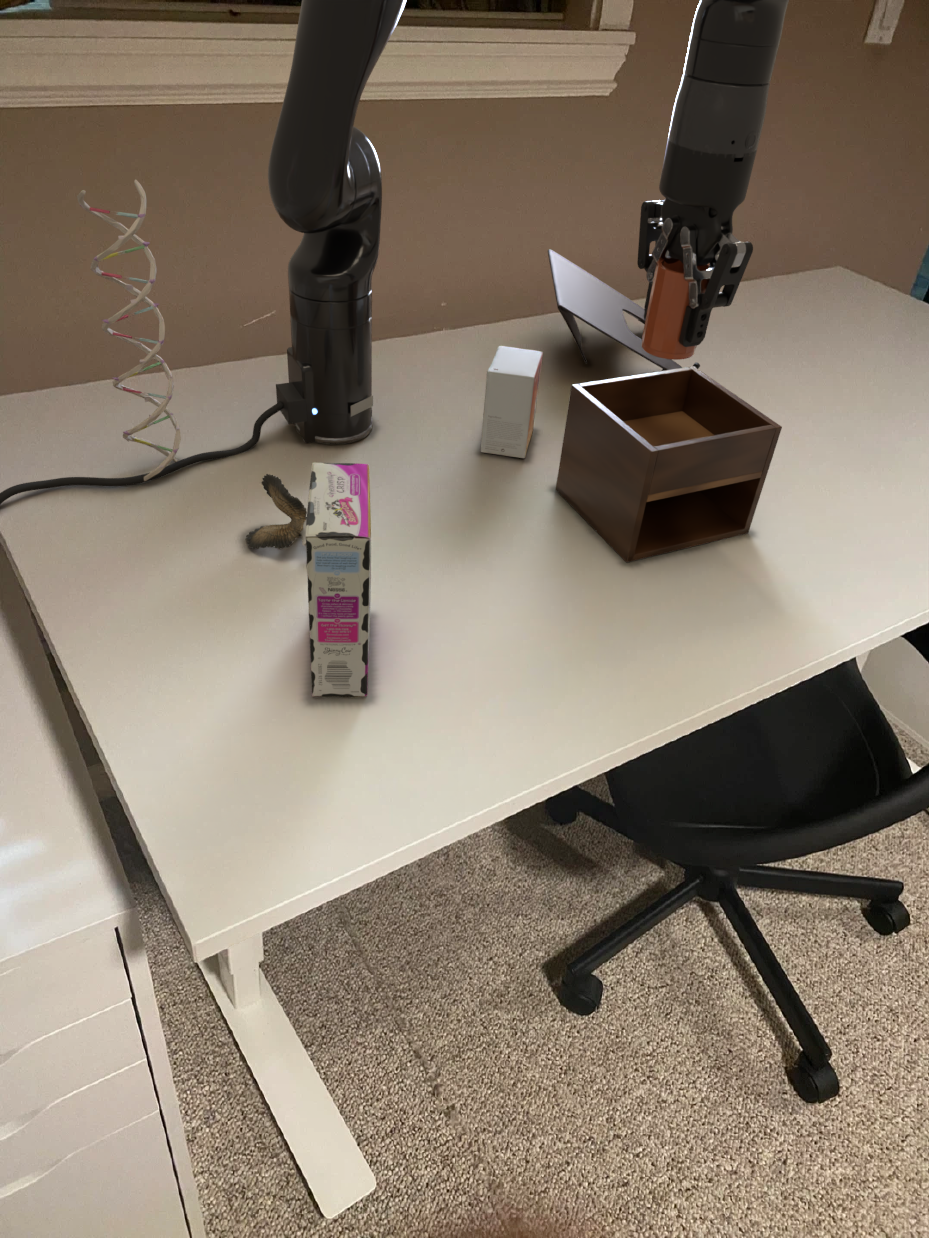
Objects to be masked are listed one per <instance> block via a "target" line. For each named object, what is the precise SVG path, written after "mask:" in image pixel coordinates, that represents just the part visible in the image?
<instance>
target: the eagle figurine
mask: <svg viewBox="0 0 929 1238" xmlns="http://www.w3.org/2000/svg"><path fill="white" fill-rule="evenodd" d="M261 479H262V480H261V485H262V487H263V488H262V489H263V490H264V491H265V492H266V495H267V496H268V497H269V498H271V500H272V502H273V504H274V506H276V508H277V509H278V510H279V511H280V512H281V513H283V514H284V515H286V516H287V517H289V518H290V521H289V522H288V523H284V524H283V523H282V524H281V523H280V524H267V525H262V526H260V527H258V528H255V529H254V530H251V531H250V532H248V534H246V536H245V537H246V538H245V541H246V545H247V546H248V548H251V549H253V550H254V549H256V550H259V549H260V548H261V549H262V548H263V549H265V548H275V549H278V550H281V549H284V548H289V547H290V546H292V545H293V543H294V542H295V541H296V540H297V539H299V538H301V542H302V546H303V547H304V546H305V547H306V537H305V534H306V520H307V507H305V504H304V503H303V502H302V501H301V500H300V499H299V497H297V496H293V495H291V493H290V492H289V490H288V489H287V487H285V484H283V481H282V479H281V478H279V476H276V475H273V474H270V473H269V474H268V473H266V474H265V475H264V476H263V477H262V478H261Z"/></svg>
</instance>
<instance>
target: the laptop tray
mask: <svg viewBox="0 0 929 1238" xmlns="http://www.w3.org/2000/svg"><path fill="white" fill-rule="evenodd" d="M547 256H548V261H549V269H550V272H551V279H552V284H553V290H554V295H555V296H554V297H555V301H556V307H557V310H558V311H559V313H560V314H561V316H562V319H563V320H564V322H565V323H566V325H567V327H568V329H569V332H570V333H571V336H572V337H573V340H574V342H575V344H576V346H577V348H578V350H579V352H580V355H581V357H582V360H583V361H584V362H585V364H588V361H587V358H586V355H585V352H584V349H583V344H582V340H583V339H582V338H583V337H582V333H581V331H580V328H579V326H578V323H577V321H576V319H575V317H576V318H577V319H578V320H580V321H582V322H583V323H585V324H587V325H588V326H590V327H591V328H593V329H595V330H596V331H598V332H600V333H601V334H603V335H604V336H607V338H608V337H609V338H610V339H611V340H613V341H615V342H616V343H618V344H620V345H621V346H623V347H624V348H626V349H628V350H629V351H631V352H633V353H635V354H636V355H638V356H640V357H642V358H643V359H645V360H646V361H648V362H650V363H652V364H654V365H656V366H657V367H659V368H661V371H666V370H672V369H679V368H683V367H682V366H681V365H680V364H679V363H677V362H676V361H675V360H673V359H665V358H660V357H656V356H654V355H651V354H649V353H647V352H646V351H645V350H644V349H643V348H642V346H641V344H642V338H640V337H639V336H637V335H636V334H635V333H634V332H632V330H631V329H630V328H629V326H628V323H627V320H626V318H625V314H624V312H625V313H626V314H628V315H629V316H631V317H633V318H634V319H636V320H637V321H638V322H640V323H641V324H643V326H644V325H645V319H644V312H645V309H644V307H642V306H641V305H639V304H637V303H636V302H635V301H633V300H631V298H628V297H627V296H625V295H624V294H622V293H621V292H619V291H618V290H616V289H614V288H613V287H611V286H610V285H608V284H607V283H605V282H604V281H602V280H601V279H599V278H597V277H596V276H595V275H592V274H591V273H590V272H588V271H587V270H585V269H583V268H582V267H580V266H578V265H577V264H575V263H573V262H572V261H571V260H569V259H567V258H566V257H564V256H563V255H561V254H559V253H558V252H556V251H554V250H553V249H551V248H549V249H547ZM692 366H694V367H696V368H697V369H700V367H701V364H700V363H699V362H697V361H695V362H694V363H693V365H692Z"/></svg>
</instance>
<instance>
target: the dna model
mask: <svg viewBox="0 0 929 1238" xmlns="http://www.w3.org/2000/svg"><path fill="white" fill-rule="evenodd" d="M133 184H134V186H135V188H136V190H137V192H138V193H137V194H138V195H139V197H140V203H141V204H140V208H139V213H138V214H136V213H129V212H124V211H123V212H121V211H117V212H115V215H116V216H121V217H125V218H132V219H135V220H134V222H133V223H132V224H131V226H130V227H129V228H127V226H125V225H124V224H123V223H122V222H120V221H117V220H115V219H113V217H110V216H108V215H106V214H111V212H112V213H113V212H114V211H113V210H111V211H110V210H108V209H102V208H97V207H96V208H95V207H91V206H90V205H89V204H88V203H87V202H86V201H85V196H86V192H87V191H86V190H85V189H83V190H81V191H80V192H79V193H78V194H77V195H76V199H77V203H78V204H79V206H80V207H81V208H82V210H84V211H85V212H87V213H90V214H91V215H93V216H95V217H97V218H99V219H100V220H102V221H104V222H105V223H107V224H108V225H110V226H112V227H114V228H116V229H117V230H118V231H120V232H121V233H123V234H124V235H118V236H117V237H118V238H117V240H116V241H115V242H114V243H113V244H111V245H110V246H109V247H107V248H106V249H105V250H104V251H102V252H101V253H99V254H98V255H96V256H94V257H93V259H92V262H91V263H90V267H89V269H90V270H91V271H92V272H93V273H94V274H95V275H96V276H99V277H101V278H103V279H105V280H108V281H110V282H112V283H114V284H117V285H119V286H120V287H121V288H123V289H124V290H125V291H127V292H128V293H130V294H132V295H133V296H134V297H136V298H133V299H130V303H129V304H127V305H126V306H125V307H123V308H122V309H120V310H119V311H118V312H116V313H115V314H114V315H112V316H110V317H109V318H105V319H101V322H103V323H102V324H101V331H103V332H104V333H105V334H107V335H108V336H110V337H112V338H115V339H119V340H121V341H124V342H125V343H128V344H129V345H132V346H133V347H135V348H138V349H139V350H141V351H142V352H144V353H145V354H146V355H145V357H144V358H142V359H139V363H138V364H137V365H136V366H134V367H132V368H131V369H130V370H128V371H125V372H124V373H123V374H121V375H119V376H117V377H111V379H112V386H113V388H115V389H117V390H119V391H123V392H127V393H129V394H131V395H134V396H137V397H140V398H142V399H144V402H145V403H147V402H150V403H151V404H152V405H154V406H156V409H155V410H154V411H153V412H152V413H151V414H148V417H147V418H146V419H144V420H143V421H141V422H140V423H138V424H137V425H135V426H134V427H133V428H130V429H127V430H124V431H122V438H123V439H124V440H125V441H126V442H134V443H137V444H142V445H145V446H148V447H150V448H152V449H154V450H156V451H158V453H160V454H162V455H164V456H166V457H165V459H164V460H163V461H162V462H161V463H160V464H158V466H157V467H155V468H154V469H153V470H151V471H150V472H148V473H149V474H147V475H146V476H144V481H146V480H148V479H150V478H151V477H153V476H155V475H156V474H158V473H160V472H161V471H162V470H163V469H164V468H165V467H166V466H168V465H170V464H171V462H172V461H173V463H175V462H177V461H179V459H178V458H176V457H175V456H177V455H176V454H177V453H178V451H179V448H180V444H181V440H182V436H181V428H180V427H181V426H180V425H179V422H178V420H177V418H176V415H174V413H173V412H172V411H171V410H170V409H169V408H168V407H167V406H168V405H169V403H170V401H171V399H172V397H173V394H174V388H175V384H174V378H173V374H172V371H171V370H170V368H169V365H168V364H167V362H166V361H165V360H164V359H163V358H162V357H161V356H160V355H158V352H159V351H160V350H161V348H162V347H163V344H164V343H165V336H166V335H165V334H166V324H165V319H164V318H163V317H164V316H163V315H162V313H161V312H160V309H159V308H158V306H159V305H160V303H158V302H153V300H151V299H150V298H149V297H148V295H149V294H150V293H151V292H152V291H151V290H152V289H153V287H154V284H155V283H156V279H157V274H158V268H157V263H156V259H155V257H154V256H153V253H152V251H151V249H150V248H149V245H150V244H151V242H149V241H144V240H143V239H142V238H140V236H139V235H137V232H138V231H139V230H140V228H141V226H142V224H143V222H144V220H145V217H146V214H147V195H146V191H145V189H144V188H143V186H142V184H141V183H140V182H139V180H137V179H134V181H133ZM130 240H132V241H133V242H134V243H135V244H137V245H138V246H135V247H132V248H129V249H125V250H121V251H117V250H118V249H119V248H121V247H123V245H125V244H126V243H128V241H130ZM139 250H143V252H144V254H145V257H146V258H147V259H148V262H149V264H150V268H149V279H147V280H146V279H141V278H137V277H132V276H127V277H125V276H123V275H122V274H117V273H116V274H115V273H112V272H105V271H103V270H102V269H100V267H99V263H100V262H101V261H104V260H108V259H111V258H114V257H117V256H120V255H121V256H122V255H124V254H128V253H132V252H136V251H139ZM116 251H117V252H116ZM124 277H125V278H124ZM120 279H124V280H129V281H131V282H137V283H142V284H145V286H144V287H143V288H142V290H140V289H138V288H136V287H134V284H131V283H125V282H124V281H122V280H120ZM141 302H143V303H145V304H146V305H147V306H148V307H145V308H142V309H140V310H137V311H134V312H133V315H131V317H133V316H136V315H139V314H143V313H146V312H149V311H152V312H153V313H154V315H155V316H156V318H157V320H158V324H159V326H158V328H159V331H158V340H156V339H150V338H144V337H139V338H138V337H137V336H135V338H133V336H132V335H129V334H123V333H120V332H118V331H115V330H113V329H111V328H110V326H111V325H113V324H114V323H116V322H119V321H122V320H125V319H128V318H129V317H130V315H129V313H130V312H131V311H133V310H134V309H135V308H137V307H138V306H139V305H140V304H141ZM140 341H141V342H140ZM142 342H145V343H149V344H154V345H155V346H154V347H152V349H151V348H149V347H148V346H146V345H145V344H144V343H142ZM153 360H154V361H156V362H155V363H153V364H151V365H148V364H150V363H152V361H153ZM147 365H148V366H147ZM158 366H160V367H161V369H162V372H163V373H164V375H165V376H166V378H167V380H168V385H167V390H166V394H165V395H163V394H157V393H152V392H145V391H141V390H137V389H134V388H131V387H129V386H126V385H123V384H121V383H122V382H124V381H125V380H126V379H128V378H131V377H134V376H137V375H138V374H141V373H143V372H146V371H148V370H150V369H153V368H156V367H158ZM157 398H159V399H164V400H163V401H162V402H160V400H158V399H157ZM163 413H164V414H166V416H163V417H161V418H159V417H160V416H161V414H163ZM158 418H159V419H158ZM169 419H170V421H171V424H172V426H173V428H174V430H175V436H174V441H173V445H172V448H169V447H165V446H161V445H160V444H157V443H154V442H153V441H151V440H148V439H145V438H141V437H136V435H134V434H136V433H138V432H140V431H142V430H145V429H148V428H149V427H152V426H153V425H156V424H159V423H160V422H164V421H166V420H169Z"/></svg>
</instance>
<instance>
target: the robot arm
mask: <svg viewBox="0 0 929 1238" xmlns="http://www.w3.org/2000/svg"><path fill="white" fill-rule="evenodd" d="M789 2H790V0H699V3H698V5H697V8H696V11H695V14H694V18H693V20H692V21H693V22H692V26H691V32H690V35H689V41H688V47H687V53H686V56H685V63H684V67H683V74H682V76H681V81H680V85H679V88H678V91H677V94H676V97H675V102H674V105H673V109H672V115H671V121H670V126H669V132H668V137H667V141H666V147H665V152H664V158H663V163H662V169H661V172H660V173H661V174H660V179H659V185H658V190H659V193H660V194H661V195H662V196H663V197H664V199H661V200H660V199H659V200H647V201H643V202H642V203H641V206H640V219H639V230H638V231H639V234H638V246H637V247H638V248H637V268H638V269H639V270H644V271H645V272H646V281H647V282H648V286H647V290H646V297H645V302H644V306H643V309H645V312H644V319H645V320H646V315H647V310H648V305H649V300H650V294H651V289H652V284H653V279H654V274H655V269H656V264H657V261H658V260H663V259H664V261H665V262H666V263H668V264H671V263H675V262H677V261H679V260H680V261H681V262H682V263H683V270H684V279H685V281H687V282H688V283H689V284H688V293H689V306H686V311H685V315H684V320H683V324H682V329H681V333H680V338H679V343H680V344H681V345H683V346H684V347H690V346H697V347H698V346H699V345H701V344H702V342H703V341H704V340H705V337H706V334H707V329H708V326H709V322H710V318H711V313H712V311H713V309H714V308H721V307H722V308H725V307H730V306H731V305H732V303H733V301H734V298H735V296H736V293H737V291H738V288H739V286H740V284H741V282H742V279H743V277H744V274H745V272H746V269H747V267H748V264H749V262H750V259H751V258H752V254H753V253H754V252H753V251H754V245H753V242H751V241H741V240H739V239H738V238H737V237H736V236H735V235H734V234H733V231H734V228H733V227H734V226H733V215H734V212H735V211H736V210H737V208H738V207H739V206H740V205H741V204H743V202H744V201H745V199H746V198H747V193H748V189H749V184H750V180H751V176H752V172H753V168H754V164H755V160H756V155H757V152H758V149H759V143H760V139H761V135H762V131H763V126H764V122H765V118H766V113H767V106H768V98H769V92H770V91H769V90H770V85H771V80H772V77H773V73H774V70H775V69H774V68H775V65H776V60H777V55H778V52H779V48H780V43H781V38H782V36H783V35H782V34H783V29H784V23H785V17H786V12H787V9H788V4H789ZM406 3H407V0H301V4H300V5H301V6H300V10H299V15H298V23H297V29H296V36H295V41H294V42H295V43H294V49H293V55H292V61H291V67H290V72H289V77H288V80H287V84H286V89H285V93H284V98H283V101H282V105H281V110H280V113H279V117H278V121H277V124H276V128H275V133H274V136H273V141H272V144H271V149H270V154H269V159H268V166H267V184H268V191H269V195H270V199H271V203H272V204H273V207H274V209H275V211H276V213H277V215H278V216H279V218H280V219H281V220H282V222H284V224H285V225H286V226H288V227H289V228H290V229H292V230H293V231H296V232H298V233H302V234H303V235H302V238H301V240H300V242H299V244H298V246H297V247H296V249H295V250H294V252H293V254H292V255H291V257H289V261H288V263H287V284H288V285H287V286H288V301H289V303H288V304H289V321H290V337H291V346H289V347H288V348H286V357H287V374H288V376H287V377H288V382H284V383H283V382H282V383H276V384H275V393H276V403H275V404H274V405H272V406H271V407H269V408H268V409H266V410H265V411H264V412H262V413H261V414H260V415H259V417H258V418H257V419H256V420H255V421H254V425H253V429H252V436H251V438H250V439H249V440H248V441H246V442H245V443H243V444H242V445H240V446H237V447H235V448H231V449H225V450H215V451H214V450H213V451H208V452H202V453H201V452H200V453H197V454H194V455H191V456H188V457H185V458H183V459H180V460H178V461H177V462H173V463H170V464H168V465H167V466H166V467H165V468H164V469H163V470H162V471H161V472H160V473H158V474H156V475H155V476H153V477H151V478H150V479H148V480H146V481H144V476H146V475H147V474H149V473H150V472H147V473H142V474H138V475H134V476H133V475H132V476H127V477H94V476H68V477H67V476H66V477H58V478H51V479H45V480H44V479H43V480H37V481H36V480H35V481H29V482H23V483H19V484H16V485H13V486H10V487H8V488H6V489H4V490H3V491H1V492H0V506H1V505H2V504H3V503H4V502H5V501H7V500H8V499H9V498H11V497H13V496H16V495H19V494H21V493H26V492H33V491H37V490H38V491H39V490H47V489H53V488H59V487H60V488H61V487H68V486H93V487H127V486H133V485H139V484H143V483H148V482H151V481H154V480H157V479H160V478H163V477H165V476H168V475H170V474H172V473H174V472H177V471H179V470H180V469H183V468H186V467H188V466H192V465H195V464H197V463H200V462H205V461H212V460H219V459H224V458H225V459H226V458H228V457H232V456H235V455H240V454H242V453H245V452H248V451H250V450H252V449H253V448H254V447H255V446H256V445H257V444H258V442H259V441H260V438H261V433H262V432H261V431H262V427H263V425H264V424H265V423H266V421H267V420H268V419H270V418H271V417H273V416H274V415H275V414H277V413H278V412H281V414H282V416H283V417H284V419H285V420H286V422H287V423H288V424H289V425H291V424H292V425H293V426H294V428H295V430H296V432H297V433H298V434H299V435H300V437H301V439H302V440H303V441H304V443H306V444H309V443H320V444H325V445H344V444H351V443H355V442H357V441H360V440H362V439H364V438H366V437H367V436H368V435H370V433H371V432H372V431H373V407H374V395H373V388H372V387H373V368H372V367H373V354H372V353H373V275H374V271H375V270H376V269H375V268H376V267H377V263H378V261H379V255H380V247H381V231H382V229H381V228H382V227H381V226H382V208H383V206H382V205H383V178H382V170H381V164H380V160H379V157H378V154H377V152H376V149H375V147H374V145H373V143H372V142H371V140H370V139H369V137H368V136H367V135H366V134H365V133H364V132H363V131H362V130H361V129H359V128H358V127H356V126H354V125H355V120H356V115H357V111H358V107H359V105H360V102H361V99H362V95H363V92H364V90H365V87H366V85H367V82H368V80H369V79H370V76H371V74H372V72H373V71H374V68H375V66H376V65H377V63H378V61H379V60H380V58H381V55H382V54H383V52H384V50H385V48H386V46H387V44H388V42H389V40H390V38H391V37H392V34H393V32H394V30H395V28H396V27H397V25H398V22H399V20H400V18H401V16H402V13H403V11H404V9H405V6H406ZM652 242H655V244H654V247H653V249H652V251H651V254H650V249H651V243H652ZM708 263H709V264H710V265H709V268H708V269H707V270H705V271H699V270H698V269H697V266H703V265H706V264H708ZM703 279H707V284H706V291H705V293H701V281H702V280H703ZM722 287H723V288H722ZM721 289H722V290H721Z"/></svg>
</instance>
